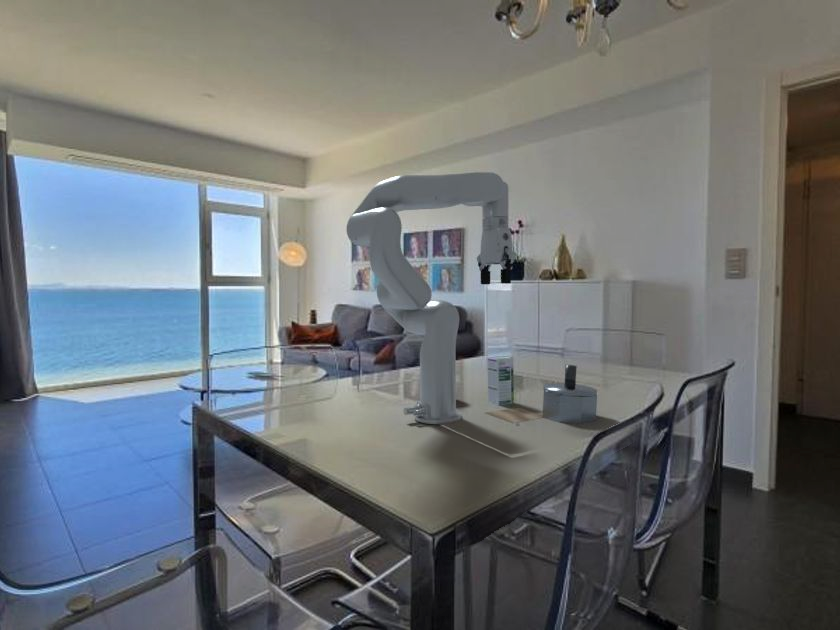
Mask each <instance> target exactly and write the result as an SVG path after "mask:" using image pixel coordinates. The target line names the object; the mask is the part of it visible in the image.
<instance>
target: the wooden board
mask: <svg viewBox="0 0 840 630" xmlns="http://www.w3.org/2000/svg"><path fill="white" fill-rule="evenodd" d="M485 415H489V416H491V417H494V418H496V419H500V420H503V421H504V422H505V421H506V422H508V423H511V424H517V423H522V422H527V421H534V420H538V419H539V420H540V419H545V418H544V417H543V414H541V413H537V412H534V411H531V410H529V409H528V410H527V409H524V408H520V407H513V408H507V409H506V408H505V409H500V410H495V411H487V412H485Z"/></svg>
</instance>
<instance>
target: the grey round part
mask: <svg viewBox="0 0 840 630" xmlns="http://www.w3.org/2000/svg"><path fill="white" fill-rule="evenodd" d="M564 368H565V369H564V382H552V383H545V384H543V387H542V389H543V395H542V396H543V400H542V415H543V417H544V418H543V419H546V420H549V421H550V420H551V421H553V422H557V423H565V424H566V423H567V424H569V423H570V424H584V423H590V422H594V421H597V408H598V407H597V403H598V390H597V389H596V388H594V387H591V386H587V385H582V384H576V383H577V368H578V367H577V365H575V364H565V367H564Z"/></svg>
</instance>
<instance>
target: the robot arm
mask: <svg viewBox="0 0 840 630" xmlns="http://www.w3.org/2000/svg"><path fill="white" fill-rule="evenodd" d="M459 205H464V206H466V207H482V210H481V211H482V214H481V215H482V218H481V220H482V221H481V222H482V223H481V224H482V226H481V227H482V231H481V240H480V254H478V255H477V257H476V261H477V266H478V267H479V269H478V270H479V272H480V285H490V284H491V270H490V269H491V267H492V265H500V266H501V269H500V284H511V283H512V281H511V280H512V269H513V266H514V263H515V260H516V256H517V253H516V252H515V251H514V250H513V240H512V238H513V237H512V233H511V229H510V228H509V184H508V183H507V182H506V181H504V179H503V178H502V177H501V175H499V174H497V173H495V172H491V171H490V172H485V171H484V172H482V171H481V172H477V171H475V172H466V173H465V172H464V173H447V174H433V175H432V174H429V175H428V174H425V175H424V174H421V175H420V174H419V175H417V174H403V175H397V176H394V177H390V178H387V179H385V180H382V181H379V182H378V183H377V184H375V185H374V186H373V188H371V190H370V191H369V192H368V193H367V195H366V196H365V197H364V199H363V200H362V201H361V203H360V204H359V205H358V206H357V207H356V209H355V210H354V211H353V213H352V214H351V216H350V217H349V219H348V221H347V224H346V229H345V230H346V235H347V237H348V239H349V241H350V242H351V243H352V244H354V245H355V246H358V247H361V248H367V247H369V265H370V269H371V270H372V273H373V274H374V275H375V277H376V279H378V284H377V286H376V296H377V299H378V302H379V304H380V306H381V307H382V308H383V309H384V310H385V311H386V312H387V313H388V314H389V315H390V316H391V317H392V318H393V319H394V320H395V322H397V323H398V324H399V326H401V327H402V328H403V329H404V330H406V331H407V332H409V333H410V334H413V335H419V336H420V335H421V336H423V340H422V343H421V345H420V349H419V390H420V391H419V396H420V399H419V401H416V404H415V405H413V406H409V407H408V406H407V407H406V406H405V407H404V408H403V414H404V416H409V415H412V416H414V420H415V421H416V422H419V423H421V424H427V425H442V424H447V423H454V422H457V421H460V420H462V417H463V414H462V413H461V412H459V411H458V410H457V399H456V396H457V395H456V393H457V391H456V390H457V386H456V385H457V383H456V382H457V381H456V374H457V372H456V369H457V368H456V366H457V365H456V356H457V355H456V347H457V336H458V330H459V325H460V314H459V311H458V309H457V308H456V306H455V305H453V303H451V302H449V301H446V300H441V299H438V300H437V299H432V297H433V295H432V289H431V287H430V284H429V283H428V281H427V280H426V279H424V277H423V276H422V275H421V274H420V273H419V272H418V271H417V269H416V268H414V266H413V265H412V264H411V262H409V260H408V259H407V258H406V257H405V255H404V253H403V251H402V245H401V244H402V243H401V239H402V238H401V236H402V226H403V225H402V221H401V218H400V216H399V213H398V212H403V211H417V210H434V209H435V210H436V209H437V210H438V209H445V208H451V207H455V206H459Z"/></svg>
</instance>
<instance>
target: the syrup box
mask: <svg viewBox="0 0 840 630" xmlns="http://www.w3.org/2000/svg"><path fill="white" fill-rule="evenodd" d="M486 358H487V359H486V361H487V363H486V364H487V366H486V367H487V402H488V403H491V404H494V405H497V406H503V405H510V404H514V403H515V400H514V399H515V395H514V394H515V393H514V388H515V387H514V385H515V384H514V381H515V380H514V379H515V377H514V357H512V356H509V355H495V356H487V357H486Z"/></svg>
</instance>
